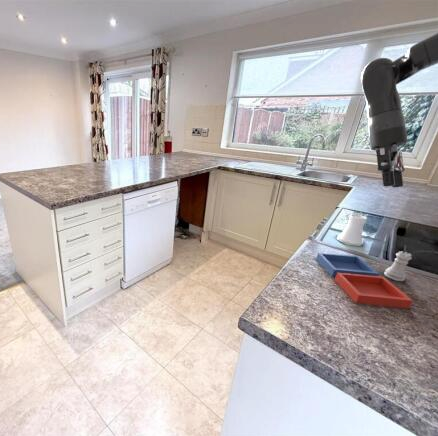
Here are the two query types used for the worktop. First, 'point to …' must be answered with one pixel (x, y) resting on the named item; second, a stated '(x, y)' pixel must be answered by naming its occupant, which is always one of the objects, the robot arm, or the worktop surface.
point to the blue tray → (345, 264)
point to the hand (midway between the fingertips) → (393, 186)
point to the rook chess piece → (398, 267)
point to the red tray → (372, 290)
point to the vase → (353, 230)
